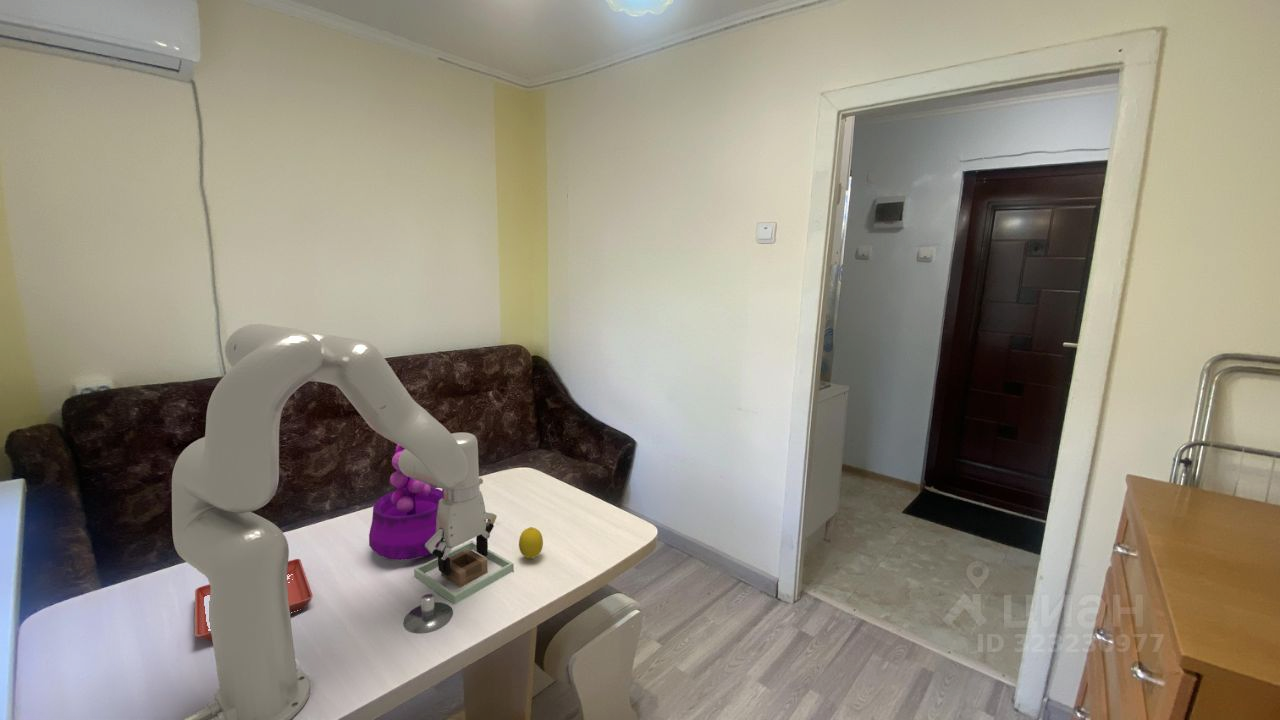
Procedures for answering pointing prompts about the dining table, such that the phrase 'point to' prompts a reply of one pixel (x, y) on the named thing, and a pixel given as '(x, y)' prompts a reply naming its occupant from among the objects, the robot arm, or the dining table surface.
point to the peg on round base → (428, 616)
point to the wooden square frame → (466, 567)
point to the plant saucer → (296, 592)
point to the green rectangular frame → (473, 588)
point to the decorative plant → (404, 517)
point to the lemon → (530, 542)
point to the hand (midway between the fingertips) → (464, 563)
